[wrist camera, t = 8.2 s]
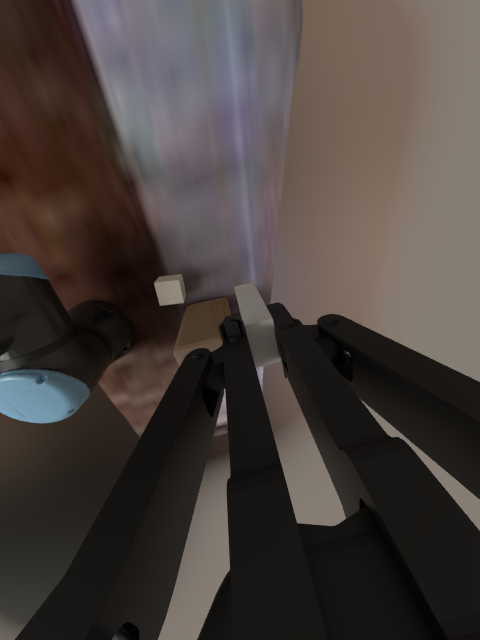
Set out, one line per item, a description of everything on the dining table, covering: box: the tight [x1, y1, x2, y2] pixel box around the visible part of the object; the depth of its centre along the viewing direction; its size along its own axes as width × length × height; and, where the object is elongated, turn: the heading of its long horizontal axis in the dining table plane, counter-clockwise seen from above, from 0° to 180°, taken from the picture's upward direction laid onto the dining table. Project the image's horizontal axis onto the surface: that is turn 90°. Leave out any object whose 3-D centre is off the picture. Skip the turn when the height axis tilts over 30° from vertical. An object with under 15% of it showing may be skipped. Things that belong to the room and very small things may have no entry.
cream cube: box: [154, 274, 186, 306], centre depth 49 cm, size 5×5×5 cm
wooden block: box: [174, 297, 232, 367], centre depth 47 cm, size 10×10×20 cm
